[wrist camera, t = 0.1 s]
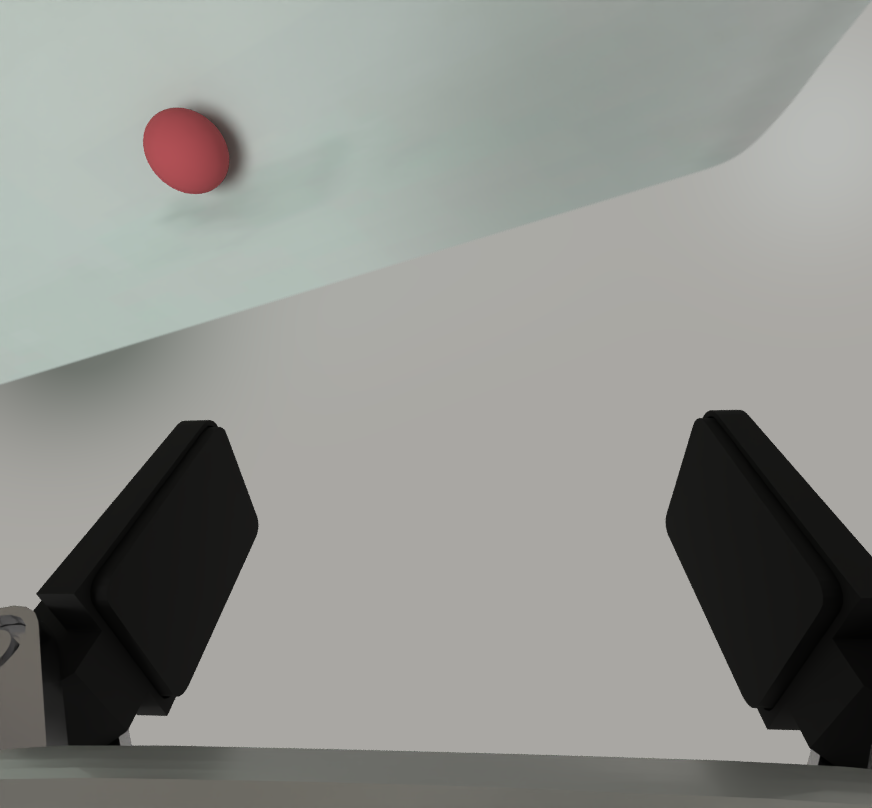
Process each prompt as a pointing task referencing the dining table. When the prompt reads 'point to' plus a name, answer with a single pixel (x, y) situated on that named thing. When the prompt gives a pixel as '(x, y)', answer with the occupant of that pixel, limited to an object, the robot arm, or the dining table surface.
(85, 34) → the dining table surface
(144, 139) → the ball
